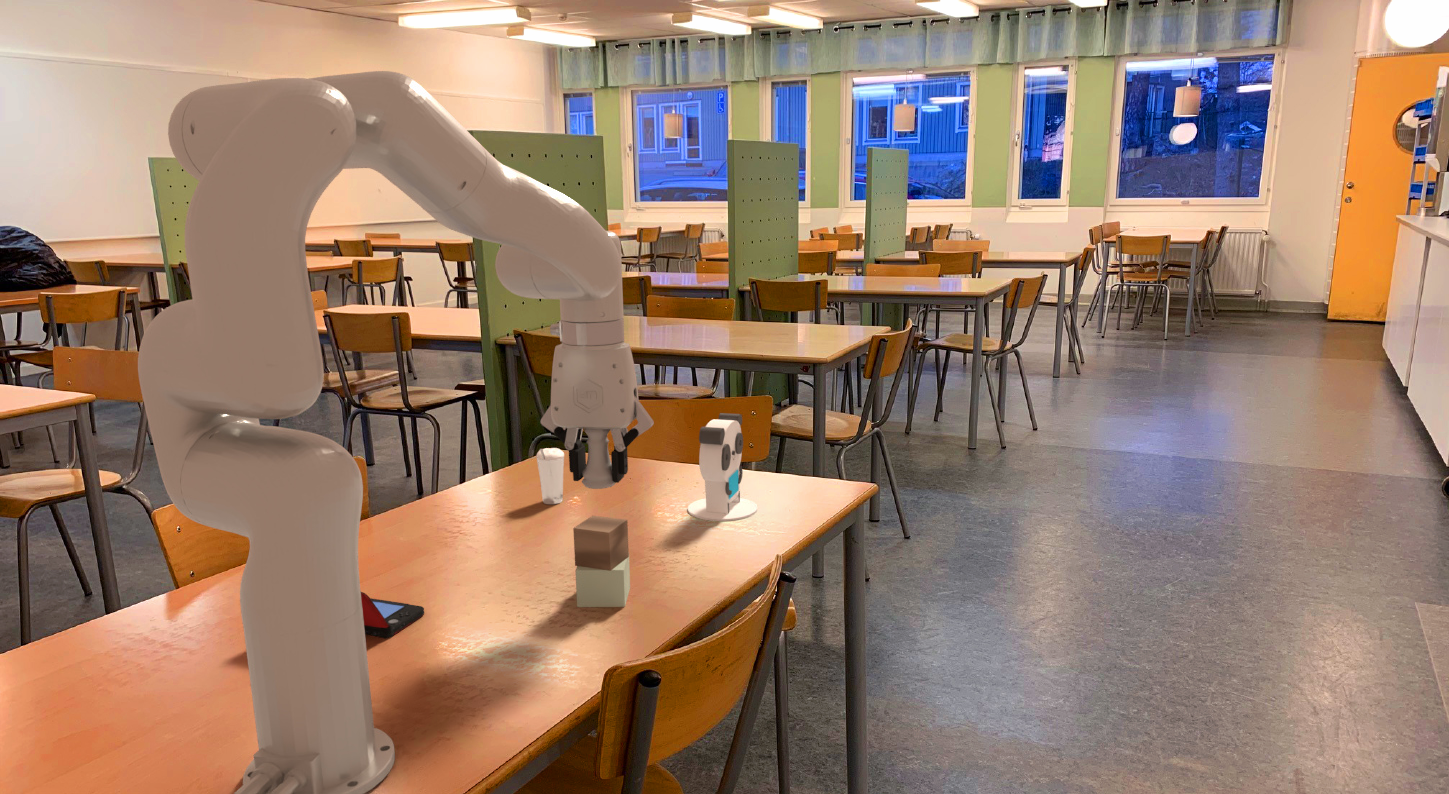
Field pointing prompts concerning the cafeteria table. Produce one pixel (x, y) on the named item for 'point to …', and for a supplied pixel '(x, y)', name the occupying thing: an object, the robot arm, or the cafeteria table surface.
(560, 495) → the milkshake
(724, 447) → the panda figurine
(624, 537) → the top block
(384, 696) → the cafeteria table surface
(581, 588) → the base block
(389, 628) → the handheld game console
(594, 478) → the rook chess piece
